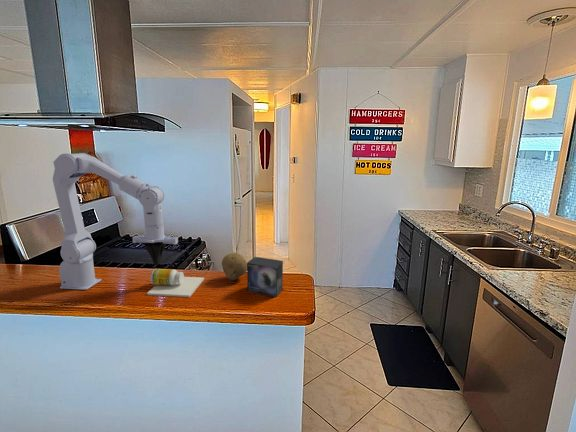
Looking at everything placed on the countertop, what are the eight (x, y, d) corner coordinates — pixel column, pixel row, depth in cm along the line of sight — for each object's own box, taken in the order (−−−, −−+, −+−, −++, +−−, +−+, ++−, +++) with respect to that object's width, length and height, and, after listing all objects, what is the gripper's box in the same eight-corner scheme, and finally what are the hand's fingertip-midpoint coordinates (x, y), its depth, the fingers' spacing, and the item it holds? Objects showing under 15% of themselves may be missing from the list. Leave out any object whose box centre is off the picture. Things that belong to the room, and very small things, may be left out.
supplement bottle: (159, 273, 112) (185, 275, 112) (153, 287, 109) (181, 288, 109) (153, 265, 108) (181, 266, 108) (148, 279, 105) (177, 281, 104)
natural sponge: (245, 273, 121) (245, 248, 119) (249, 283, 112) (249, 256, 110) (221, 275, 118) (220, 250, 116) (223, 285, 110) (222, 258, 108)
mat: (147, 294, 103) (146, 293, 102) (166, 277, 116) (166, 275, 116) (189, 297, 102) (189, 295, 101) (204, 279, 115) (204, 277, 115)
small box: (246, 292, 106) (245, 262, 103) (254, 284, 112) (254, 256, 109) (275, 298, 102) (276, 266, 100) (283, 289, 108) (283, 260, 106)
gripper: (125, 226, 101) (129, 267, 104) (170, 228, 100) (173, 269, 103) (137, 221, 108) (141, 259, 111) (179, 222, 107) (181, 261, 110)
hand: (157, 263), depth 108 cm, fingers closed
